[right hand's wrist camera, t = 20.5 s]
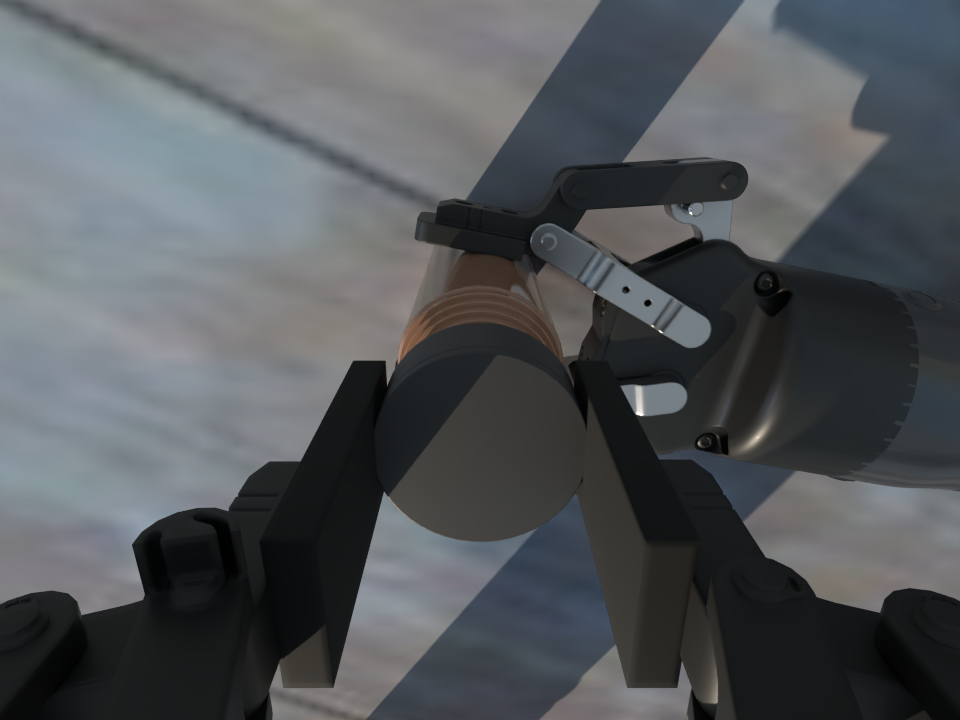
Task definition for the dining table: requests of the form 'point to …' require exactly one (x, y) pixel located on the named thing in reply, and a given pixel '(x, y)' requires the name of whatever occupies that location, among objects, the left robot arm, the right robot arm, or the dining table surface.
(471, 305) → the bottle
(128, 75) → the dining table surface
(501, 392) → the cap
